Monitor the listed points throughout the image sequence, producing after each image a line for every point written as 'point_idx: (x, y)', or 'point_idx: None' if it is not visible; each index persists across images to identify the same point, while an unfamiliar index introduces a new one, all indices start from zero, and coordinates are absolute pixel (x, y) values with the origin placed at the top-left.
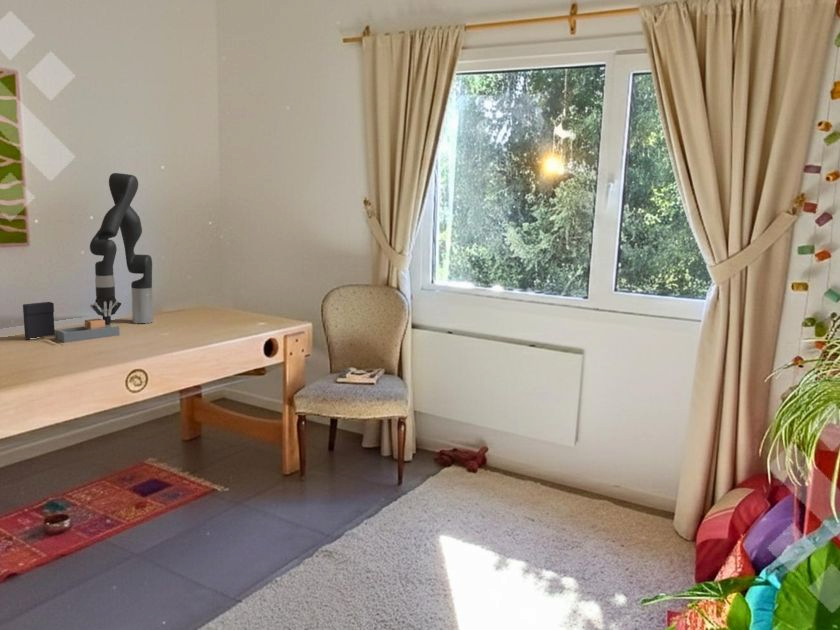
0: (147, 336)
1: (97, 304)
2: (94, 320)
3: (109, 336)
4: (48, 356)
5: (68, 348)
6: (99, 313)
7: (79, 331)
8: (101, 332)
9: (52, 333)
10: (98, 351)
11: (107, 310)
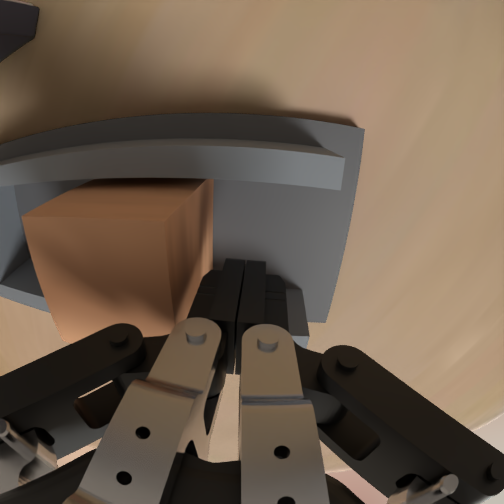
0: (397, 355)
1: (34, 485)
2: (91, 306)
3: None
4: (16, 352)
5: (40, 323)
6: (108, 400)
7: (37, 307)
8: None
9: (15, 41)
10: None
11: (239, 438)
